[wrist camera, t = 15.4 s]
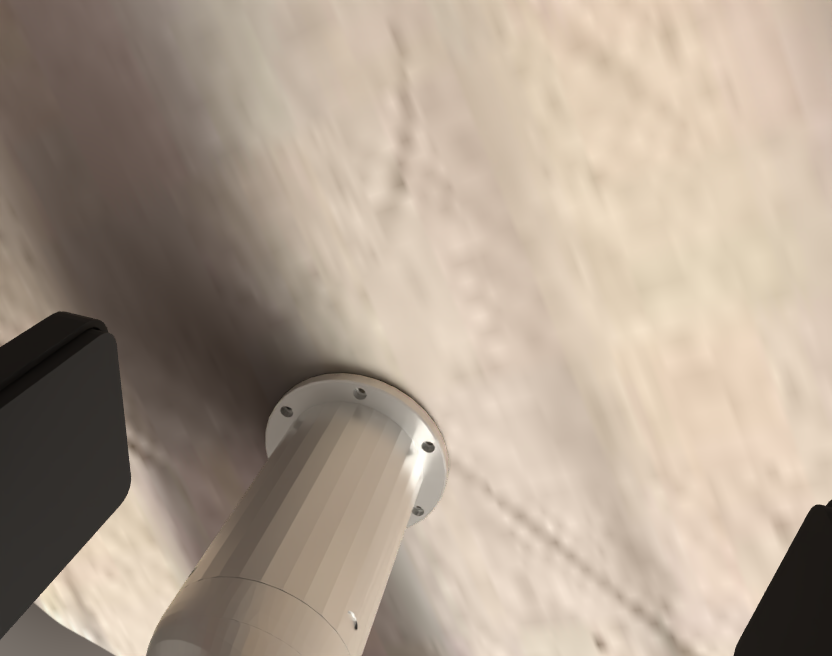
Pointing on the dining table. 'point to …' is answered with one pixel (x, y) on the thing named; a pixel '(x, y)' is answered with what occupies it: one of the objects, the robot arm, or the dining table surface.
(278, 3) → the dining table surface
